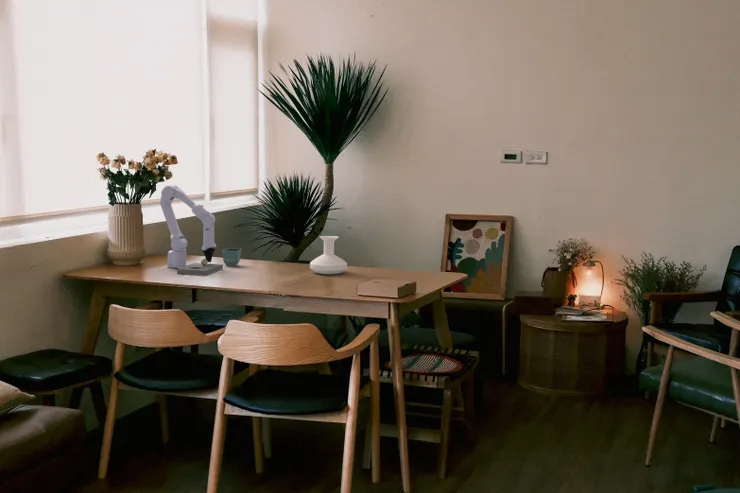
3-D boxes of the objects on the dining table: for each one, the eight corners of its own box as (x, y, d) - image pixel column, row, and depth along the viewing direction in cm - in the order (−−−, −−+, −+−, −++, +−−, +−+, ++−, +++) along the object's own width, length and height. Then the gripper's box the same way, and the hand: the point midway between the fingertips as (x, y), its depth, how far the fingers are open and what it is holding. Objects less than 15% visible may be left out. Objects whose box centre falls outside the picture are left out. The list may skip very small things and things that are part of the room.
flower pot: (241, 264, 451) (241, 248, 450) (237, 267, 442) (237, 250, 441) (226, 264, 452) (226, 248, 451) (221, 266, 443) (221, 250, 442)
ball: (199, 265, 429) (199, 259, 428) (202, 264, 432) (202, 258, 432) (206, 265, 428) (206, 259, 428) (208, 265, 431) (208, 258, 431)
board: (177, 273, 416) (177, 268, 416) (194, 267, 438) (194, 262, 437) (206, 275, 413) (206, 270, 413) (222, 269, 435) (222, 264, 434)
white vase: (342, 277, 420) (343, 240, 418) (305, 274, 424) (305, 238, 422) (351, 271, 440) (351, 235, 437) (315, 269, 444) (315, 234, 441)
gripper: (210, 238, 426) (210, 264, 428) (221, 235, 440) (220, 260, 442) (197, 238, 427) (197, 263, 429) (208, 235, 442) (208, 259, 443)
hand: (208, 262), depth 436 cm, fingers closed
